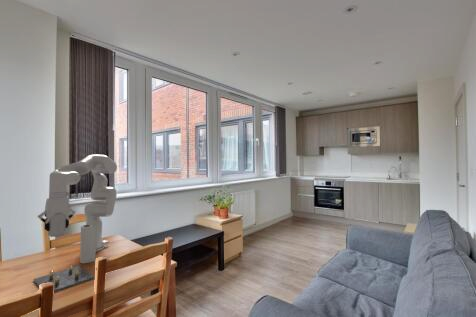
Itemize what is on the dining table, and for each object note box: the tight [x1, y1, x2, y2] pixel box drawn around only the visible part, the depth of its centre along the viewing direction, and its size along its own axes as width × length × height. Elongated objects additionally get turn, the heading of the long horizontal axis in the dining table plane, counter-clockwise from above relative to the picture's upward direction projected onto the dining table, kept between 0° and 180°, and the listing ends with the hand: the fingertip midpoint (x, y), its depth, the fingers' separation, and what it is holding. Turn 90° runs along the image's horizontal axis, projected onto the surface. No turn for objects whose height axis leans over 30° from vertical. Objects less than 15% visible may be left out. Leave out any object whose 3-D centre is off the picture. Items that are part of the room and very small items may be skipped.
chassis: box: [33, 264, 95, 293], centre depth 125 cm, size 20×20×4 cm
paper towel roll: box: [79, 224, 97, 264], centre depth 146 cm, size 7×6×21 cm
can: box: [47, 213, 67, 238], centre depth 130 cm, size 8×8×12 cm
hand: (56, 228), depth 130 cm, fingers closed on can, 7 cm apart
